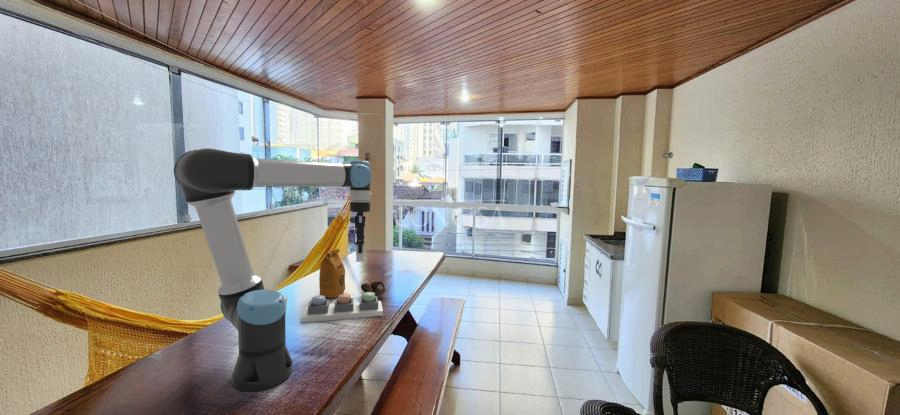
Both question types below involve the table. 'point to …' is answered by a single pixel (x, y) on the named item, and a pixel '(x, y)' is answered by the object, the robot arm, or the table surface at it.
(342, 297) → the terracotta button
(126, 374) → the table surface
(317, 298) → the slate button
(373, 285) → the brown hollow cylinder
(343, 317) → the button panel
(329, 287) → the coffee package
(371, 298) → the sage button
